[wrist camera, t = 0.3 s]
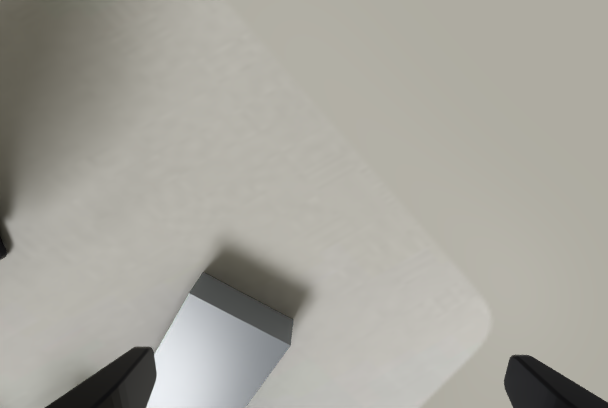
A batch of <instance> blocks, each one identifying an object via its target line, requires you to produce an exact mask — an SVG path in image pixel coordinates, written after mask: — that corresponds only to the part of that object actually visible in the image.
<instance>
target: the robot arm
mask: <svg viewBox="0 0 608 408" xmlns="http://www.w3.org/2000/svg"><path fill="white" fill-rule="evenodd" d="M6 255H7V252H6V249H5V247H4V244H3V242H2V240H1V237H0V260H1V259H3V258H5V257H6ZM156 377H157V371H156V364H155V358H154V352H153V349H152V348H151V347H134V348H132V349H131V350H129V351H128V352H126V353H125V354H123V355H122V356H120V357H119V358H117V359H116V360H114V361H113V362H112V363H110V364H109V365H107V366H106V367H104V368H103V369H101V370H100V371H98V372H97V373H95V374H94V375H92V376H91V377H89V378H88V379H86V380H85V381H84V382H82V383H81V384H79V385H78V386H76V387H75V388H73V389H72V390H70V391H69V392H67V393H66V394H64V395H63V396H61V397H60V398H58V399H57V400H56V401H54V402H53V403H51V404H50V405H48V406H47V407H45V408H146V407H147V404H148V401H149V399H150V396H151V393H152V390H153V388H154V385H155V382H156ZM504 385H505V390H506V392H507V395H508V397H509V399H510V401H511V404H512V406H513V408H608V402H606V401H604V400H602V399H601V398H599V397H598V396H596V395H594V394H593V393H591V392H589V391H588V390H586V389H585V388H583V387H581V386H580V385H578V384H576V383H575V382H573V381H571V380H570V379H568V378H566V377H565V376H563V375H561V374H560V373H558V372H556V371H555V370H553V369H552V368H550V367H548V366H546V365H545V364H543V363H542V362H540V361H538V360H537V359H535V358H533V357H532V356H529V355H512V356H511V357H510V359H509V363H508V367H507V371H506V375H505V379H504Z"/></svg>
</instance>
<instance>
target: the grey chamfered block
mask: <svg viewBox="0 0 608 408" xmlns="http://www.w3.org/2000/svg"><path fill="white" fill-rule="evenodd" d="M292 327H293V319H291V318H289V317H287V316H285V315H283V314H281V313H280V312H278V311H276V310H274V309H272V308H270V307H268V306H266V305H264V304H263V303H261V302H259V301H257V300H255V299H253V298H251V297H249V296H247V295H246V294H244V293H242V292H240V291H238V290H236V289H234V288H232V287H230V286H228V285H227V284H225V283H223V282H221V281H219V280H217V279H215V278H213V277H211V276H210V275H208V274H206V273H204V272H203V273H202V275H201V276H200V278H199V279H198V281H197V282H196V284H195V285H194V287H193V288H192V290H191V291H190V293H189V294H188V296H187V298H186V300H185V301H184V303H183V305H182V307H181V309H180V310H179V312H178V314H177V316H176V317H175V319H174V321H173V323H172V324H171V326H170V328H169V330H168V331H167V333H166V335H165V337H164V339H163V340H162V342H161V344H160V346H159V347H158V349H157V351H156V353H155V354H154V358H155V364H156V371H157V377H156V382H155V385H154V388H153V390H152V393H151V396H150V399H149V401H148V404H147V407H146V408H245V407H246V406H247V405H248V403H249V402H250V400H251V399H252V398H253V396H254V395H255V394H256V392H257V391H258V389H259V388H260V387H261V385H262V384H263V383H264V381H265V380H266V379H267V377H268V376H269V374H270V373H271V372H272V370H273V369H274V368H275V366H276V365H277V363H278V362H279V361H280V359H281V358H282V357H283V355H284V354H285V352H286V351H287V350H288V348H289V347H290V346H291V336H292Z"/></svg>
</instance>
